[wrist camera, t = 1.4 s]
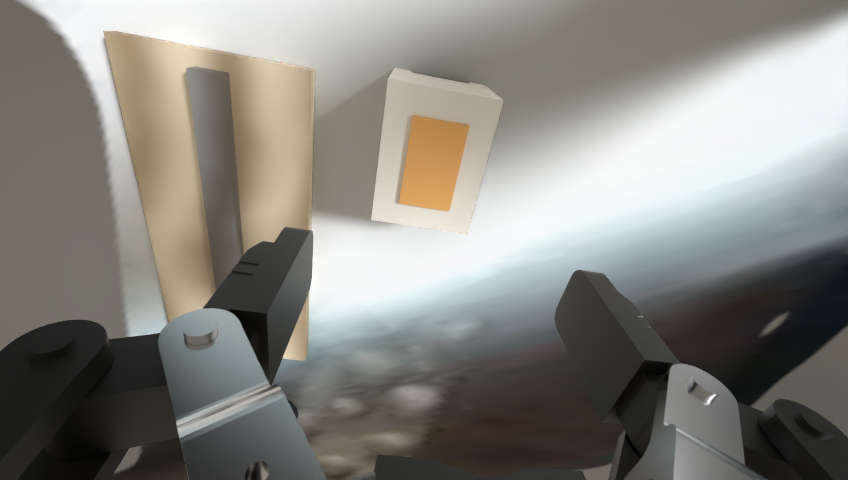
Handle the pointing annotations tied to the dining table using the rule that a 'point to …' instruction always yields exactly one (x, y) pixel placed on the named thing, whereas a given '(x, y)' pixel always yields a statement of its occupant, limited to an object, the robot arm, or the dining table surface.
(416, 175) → the block
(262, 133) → the rail board
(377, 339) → the dining table surface
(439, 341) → the dining table surface
